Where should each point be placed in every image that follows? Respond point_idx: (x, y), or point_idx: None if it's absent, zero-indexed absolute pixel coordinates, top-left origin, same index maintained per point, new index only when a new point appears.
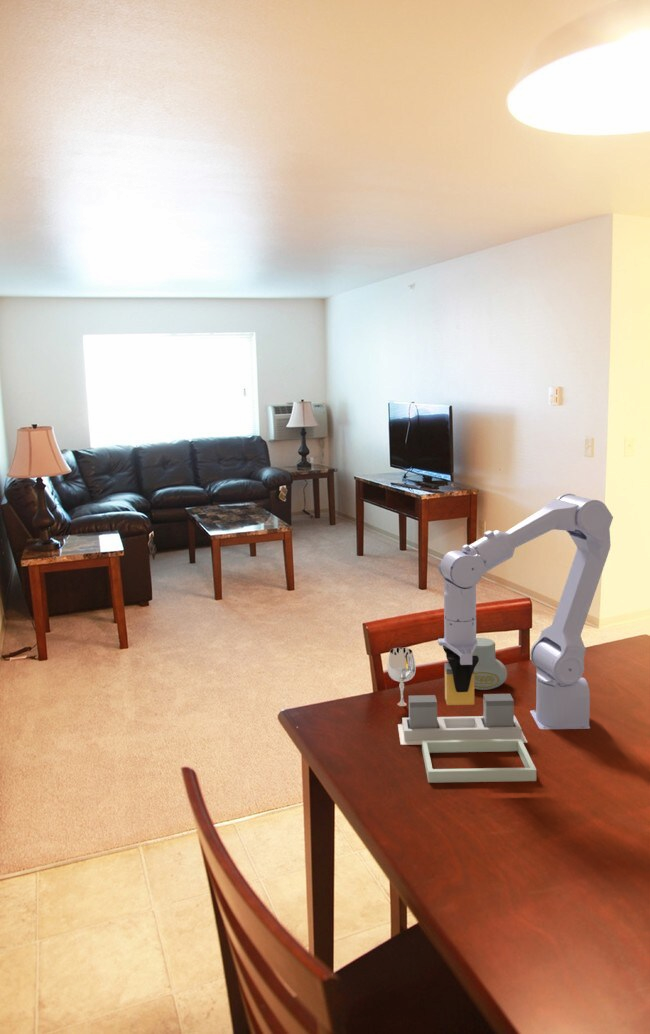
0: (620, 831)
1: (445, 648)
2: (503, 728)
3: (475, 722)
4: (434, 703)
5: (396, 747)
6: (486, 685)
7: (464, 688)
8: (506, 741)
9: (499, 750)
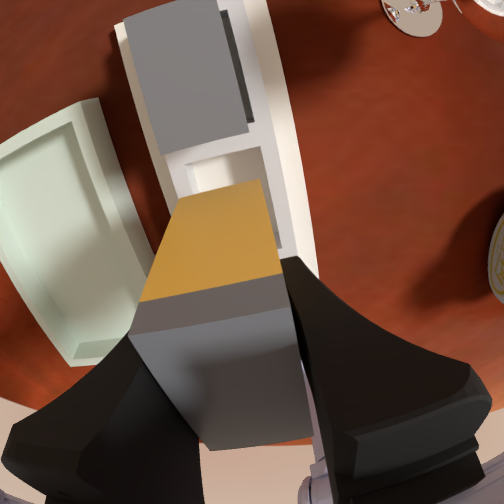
0: (41, 402)
1: (358, 451)
2: None
3: None
4: (159, 140)
5: (118, 15)
6: (495, 256)
7: None
8: None
9: None
